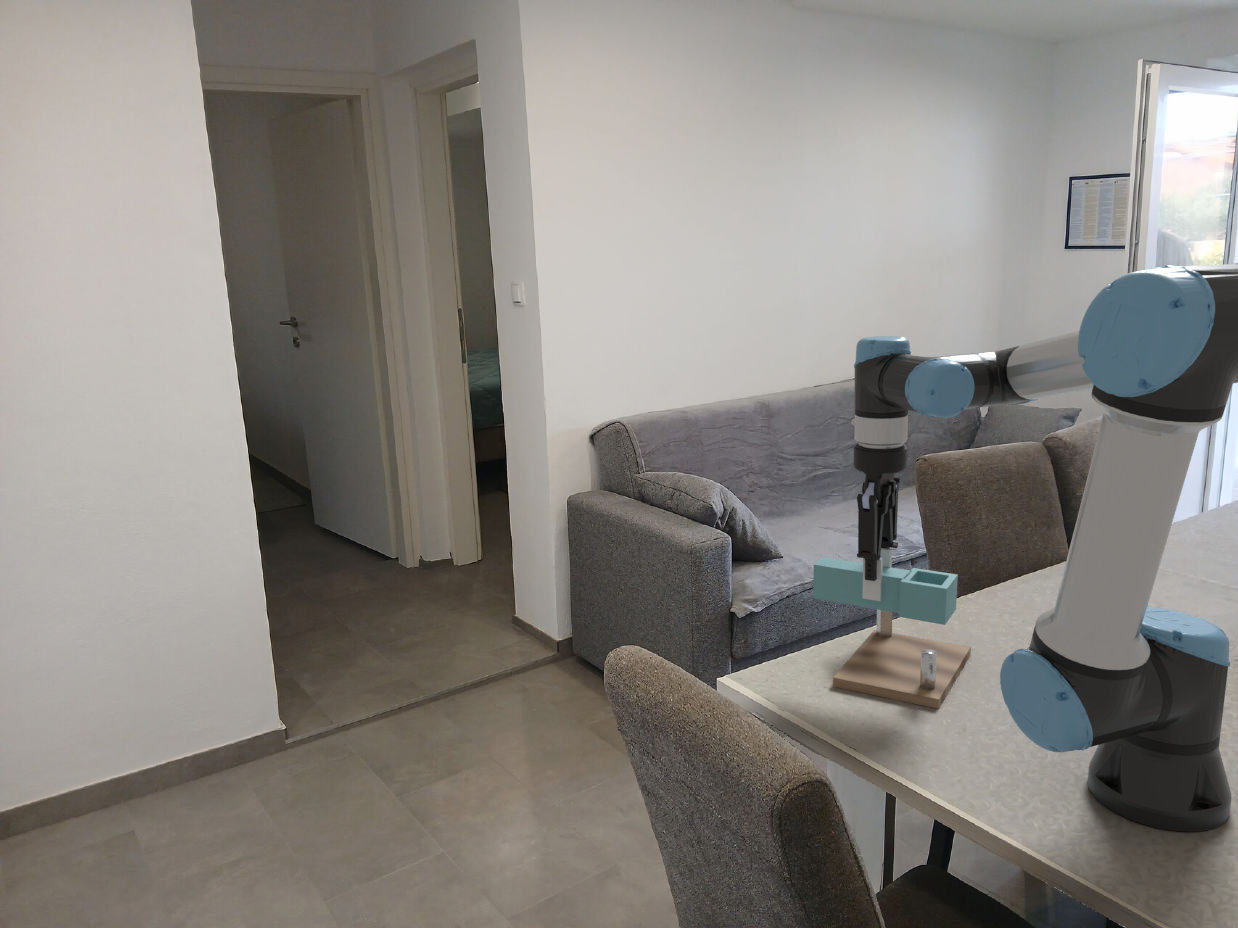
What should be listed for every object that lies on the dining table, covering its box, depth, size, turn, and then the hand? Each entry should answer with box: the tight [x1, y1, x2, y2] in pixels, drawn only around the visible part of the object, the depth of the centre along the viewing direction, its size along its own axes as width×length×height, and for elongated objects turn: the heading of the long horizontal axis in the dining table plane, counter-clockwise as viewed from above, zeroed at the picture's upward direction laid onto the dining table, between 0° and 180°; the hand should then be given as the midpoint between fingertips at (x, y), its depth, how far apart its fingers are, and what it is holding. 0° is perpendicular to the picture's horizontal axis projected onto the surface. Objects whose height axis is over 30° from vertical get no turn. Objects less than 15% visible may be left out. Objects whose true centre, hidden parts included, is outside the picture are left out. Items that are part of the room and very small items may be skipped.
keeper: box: [876, 609, 893, 637], centre depth 160 cm, size 7×6×12 cm
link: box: [812, 556, 959, 626], centre depth 144 cm, size 20×7×6 cm, turn 58°
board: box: [832, 629, 972, 710], centre depth 153 cm, size 21×16×2 cm
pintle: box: [920, 649, 937, 690], centre depth 143 cm, size 2×2×7 cm
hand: (876, 593), depth 145 cm, fingers closed on link, 4 cm apart
